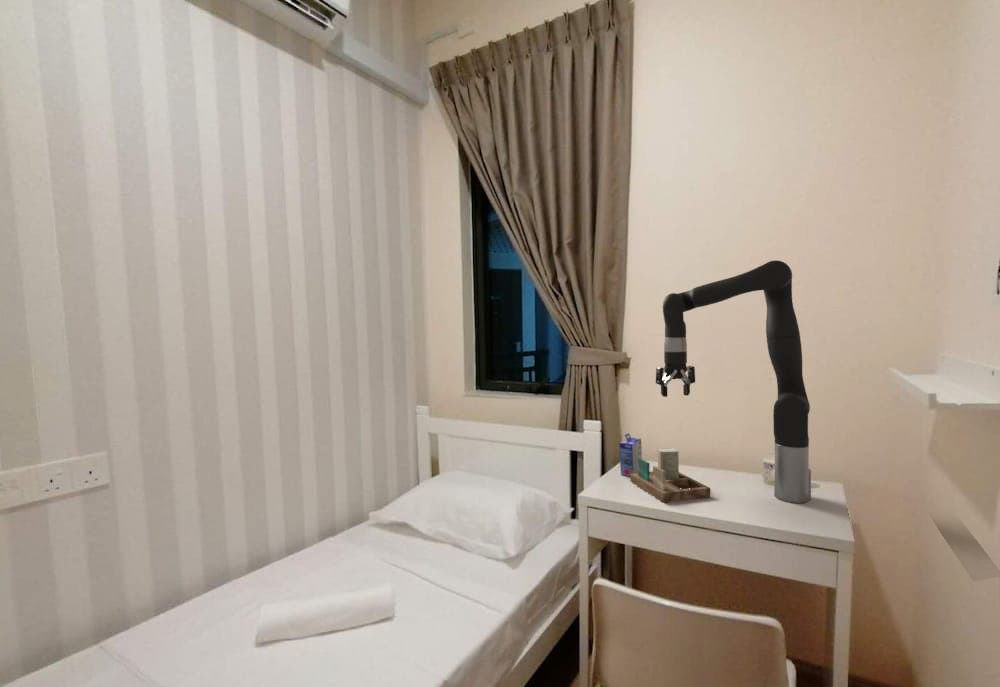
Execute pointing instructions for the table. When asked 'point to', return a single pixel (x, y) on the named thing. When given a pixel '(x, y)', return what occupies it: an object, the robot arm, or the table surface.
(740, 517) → the table surface
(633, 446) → the ink cartridge box
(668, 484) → the socket block
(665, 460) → the skincare box
